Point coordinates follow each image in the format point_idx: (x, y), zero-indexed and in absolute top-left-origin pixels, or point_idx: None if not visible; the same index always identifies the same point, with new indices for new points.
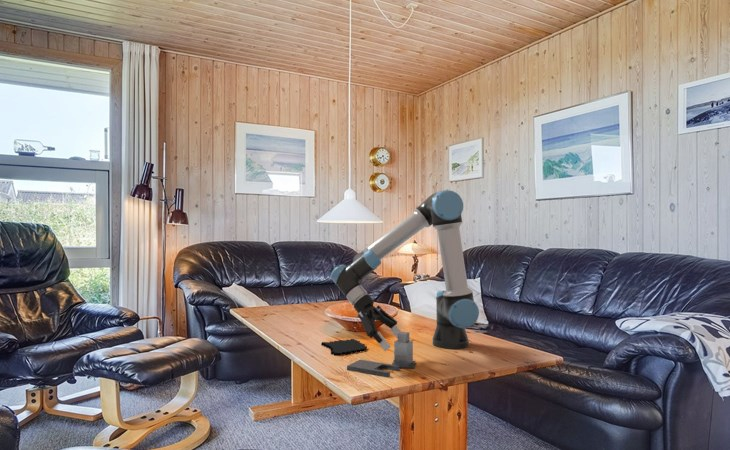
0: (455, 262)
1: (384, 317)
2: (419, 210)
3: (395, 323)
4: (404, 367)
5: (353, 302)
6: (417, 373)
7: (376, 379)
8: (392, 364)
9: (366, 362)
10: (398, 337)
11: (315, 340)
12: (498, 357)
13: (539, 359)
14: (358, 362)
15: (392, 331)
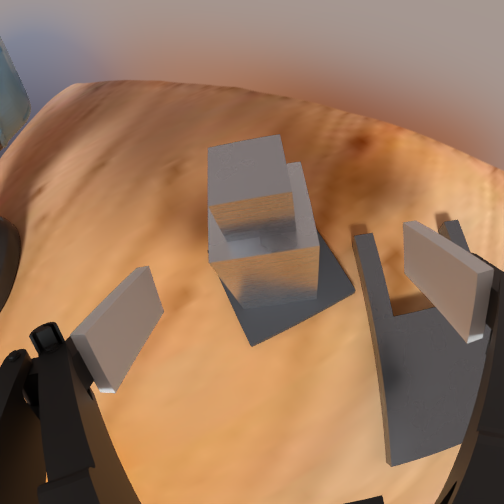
0: None
1: (80, 442)
2: None
3: (55, 338)
4: (321, 238)
5: None
6: (337, 174)
7: (493, 247)
8: (327, 303)
9: (419, 402)
10: (292, 207)
11: None
12: (73, 128)
13: (76, 90)
14: (441, 431)
15: (123, 370)
